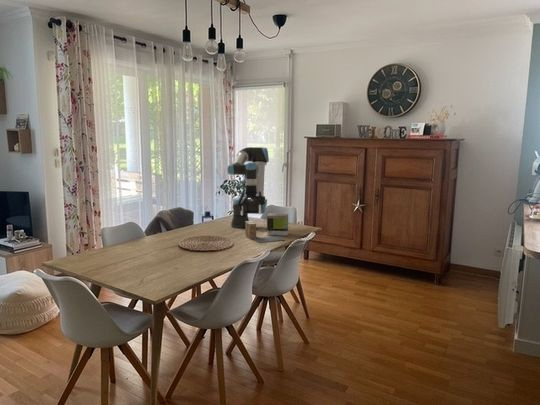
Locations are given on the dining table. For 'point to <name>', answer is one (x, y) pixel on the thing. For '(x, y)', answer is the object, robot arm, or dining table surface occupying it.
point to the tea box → (277, 224)
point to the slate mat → (269, 239)
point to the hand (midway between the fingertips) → (251, 214)
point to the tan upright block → (250, 229)
